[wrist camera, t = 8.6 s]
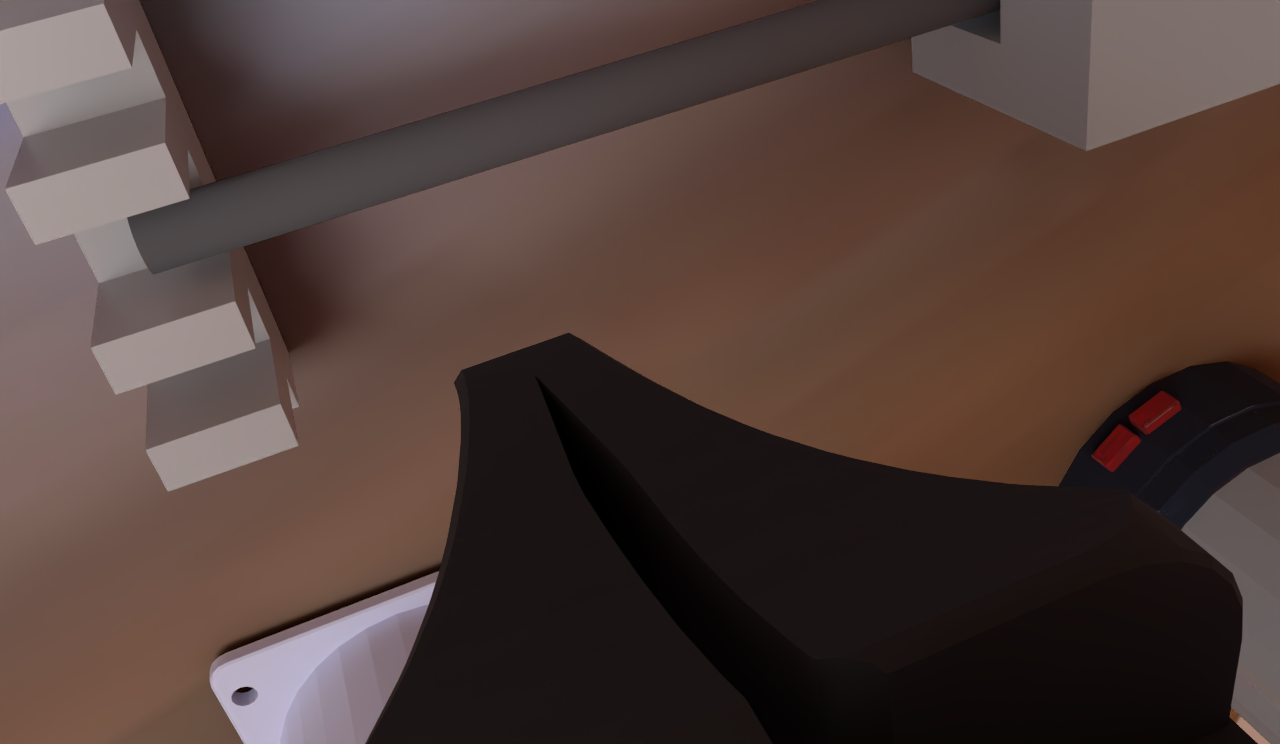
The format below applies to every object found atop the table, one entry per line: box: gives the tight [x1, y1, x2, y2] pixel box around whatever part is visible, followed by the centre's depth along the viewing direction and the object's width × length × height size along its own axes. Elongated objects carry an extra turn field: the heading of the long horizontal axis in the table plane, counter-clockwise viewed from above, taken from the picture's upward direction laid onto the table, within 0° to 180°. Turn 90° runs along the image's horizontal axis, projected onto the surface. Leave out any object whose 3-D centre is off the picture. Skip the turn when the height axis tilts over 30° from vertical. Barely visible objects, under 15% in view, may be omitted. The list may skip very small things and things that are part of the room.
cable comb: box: [0, 0, 299, 491], centre depth 17 cm, size 2×8×4 cm, turn 11°
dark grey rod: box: [127, 0, 1000, 274], centre depth 18 cm, size 21×4×4 cm, turn 100°
